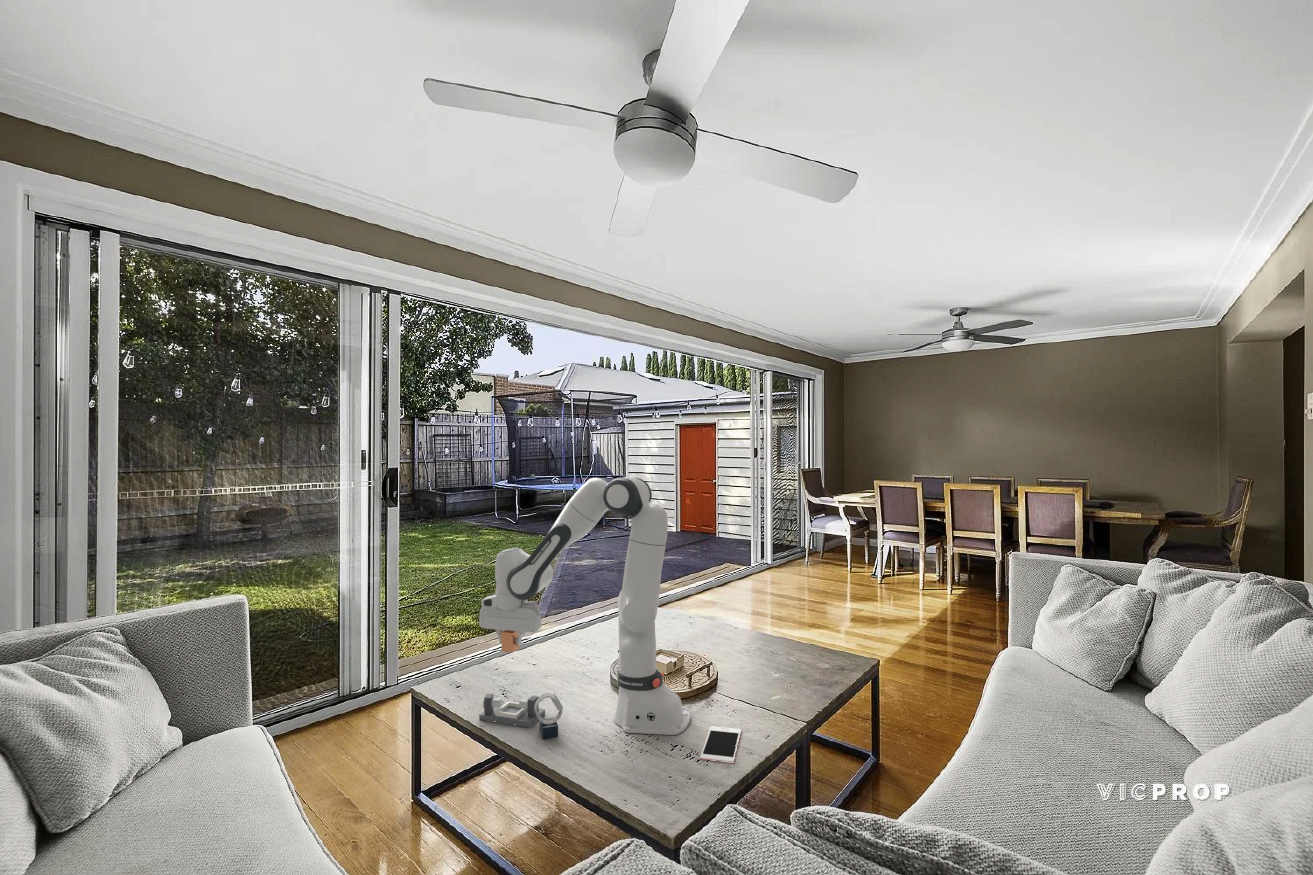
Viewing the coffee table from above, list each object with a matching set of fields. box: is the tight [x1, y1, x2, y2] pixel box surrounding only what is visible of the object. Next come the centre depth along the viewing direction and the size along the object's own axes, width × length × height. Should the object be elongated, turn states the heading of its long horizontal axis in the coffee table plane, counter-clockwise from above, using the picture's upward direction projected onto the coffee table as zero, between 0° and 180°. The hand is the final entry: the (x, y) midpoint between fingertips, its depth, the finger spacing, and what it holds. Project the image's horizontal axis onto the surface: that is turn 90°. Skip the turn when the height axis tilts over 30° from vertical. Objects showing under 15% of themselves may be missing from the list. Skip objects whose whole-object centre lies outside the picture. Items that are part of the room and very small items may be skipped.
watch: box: [534, 692, 564, 740], centre depth 173 cm, size 6×8×11 cm
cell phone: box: [699, 725, 742, 762], centre depth 166 cm, size 9×18×1 cm, turn 166°
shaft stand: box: [478, 693, 546, 728], centre depth 184 cm, size 17×9×6 cm, turn 72°
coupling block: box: [501, 630, 520, 653], centre depth 193 cm, size 4×4×6 cm
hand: (510, 643), depth 193 cm, fingers closed on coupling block, 4 cm apart
